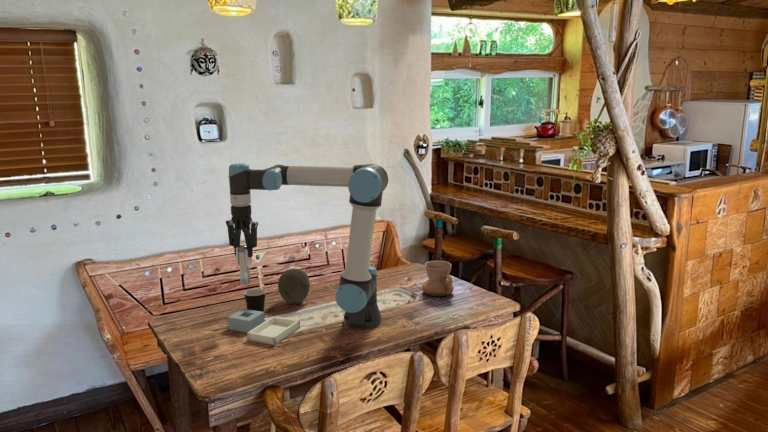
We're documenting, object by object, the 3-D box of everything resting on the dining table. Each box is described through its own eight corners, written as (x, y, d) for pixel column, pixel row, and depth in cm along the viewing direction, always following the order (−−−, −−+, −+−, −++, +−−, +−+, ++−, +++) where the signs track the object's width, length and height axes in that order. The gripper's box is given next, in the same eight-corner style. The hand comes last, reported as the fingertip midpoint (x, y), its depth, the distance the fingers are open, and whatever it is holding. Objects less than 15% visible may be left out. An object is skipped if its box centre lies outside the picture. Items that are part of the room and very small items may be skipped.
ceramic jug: (414, 291, 275) (414, 261, 272) (439, 285, 282) (440, 257, 279) (436, 303, 260) (437, 272, 257) (463, 297, 267) (463, 267, 264)
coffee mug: (261, 319, 240) (260, 296, 238) (241, 318, 242) (240, 295, 240) (272, 309, 251) (271, 287, 249) (253, 308, 253) (252, 286, 251)
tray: (300, 327, 232) (299, 320, 231) (274, 345, 216) (274, 337, 215) (274, 323, 236) (273, 316, 236) (247, 340, 220) (246, 332, 220)
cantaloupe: (316, 303, 258) (315, 270, 255) (286, 310, 250) (285, 276, 247) (301, 294, 270) (300, 263, 267) (273, 301, 262) (271, 268, 259)
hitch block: (264, 323, 236) (264, 312, 235) (250, 333, 227) (249, 320, 226) (243, 320, 240) (243, 308, 239) (228, 329, 231) (227, 317, 230)
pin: (251, 282, 230) (249, 245, 227) (246, 285, 227) (244, 247, 224) (244, 281, 232) (242, 244, 229) (238, 284, 229) (236, 246, 226)
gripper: (216, 205, 223) (220, 264, 228) (253, 208, 217) (256, 269, 221) (228, 201, 230) (232, 259, 235) (265, 204, 223) (268, 264, 228)
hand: (244, 264), depth 228 cm, fingers closed on pin, 4 cm apart
